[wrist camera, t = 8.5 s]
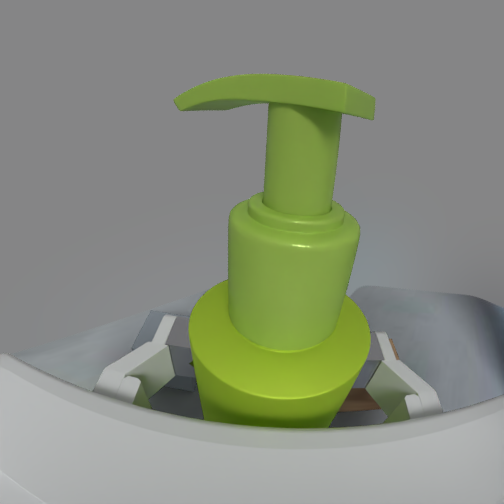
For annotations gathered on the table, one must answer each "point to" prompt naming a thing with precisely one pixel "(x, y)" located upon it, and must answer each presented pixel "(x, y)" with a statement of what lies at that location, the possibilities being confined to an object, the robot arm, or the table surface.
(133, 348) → the slate-grey block
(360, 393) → the walnut block
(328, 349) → the soap dispenser
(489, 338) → the table surface
